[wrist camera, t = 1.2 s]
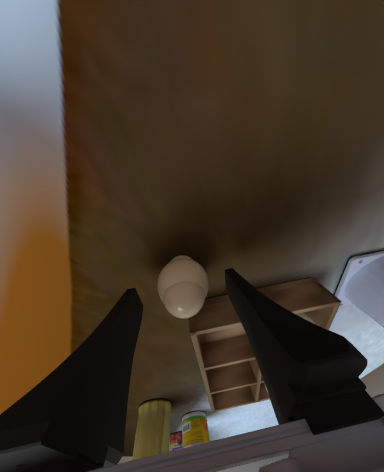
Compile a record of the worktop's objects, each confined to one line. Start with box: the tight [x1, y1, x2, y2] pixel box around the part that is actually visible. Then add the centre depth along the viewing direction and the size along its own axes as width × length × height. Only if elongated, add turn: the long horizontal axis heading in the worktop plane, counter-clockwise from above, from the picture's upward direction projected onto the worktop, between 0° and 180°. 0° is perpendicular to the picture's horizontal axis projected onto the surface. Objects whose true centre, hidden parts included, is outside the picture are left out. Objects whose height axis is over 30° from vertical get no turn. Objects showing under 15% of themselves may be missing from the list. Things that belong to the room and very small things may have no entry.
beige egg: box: [157, 255, 209, 318], centre depth 12 cm, size 4×4×5 cm
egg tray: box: [189, 277, 341, 412], centre depth 20 cm, size 15×22×3 cm
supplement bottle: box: [182, 411, 210, 448], centre depth 28 cm, size 5×5×10 cm
